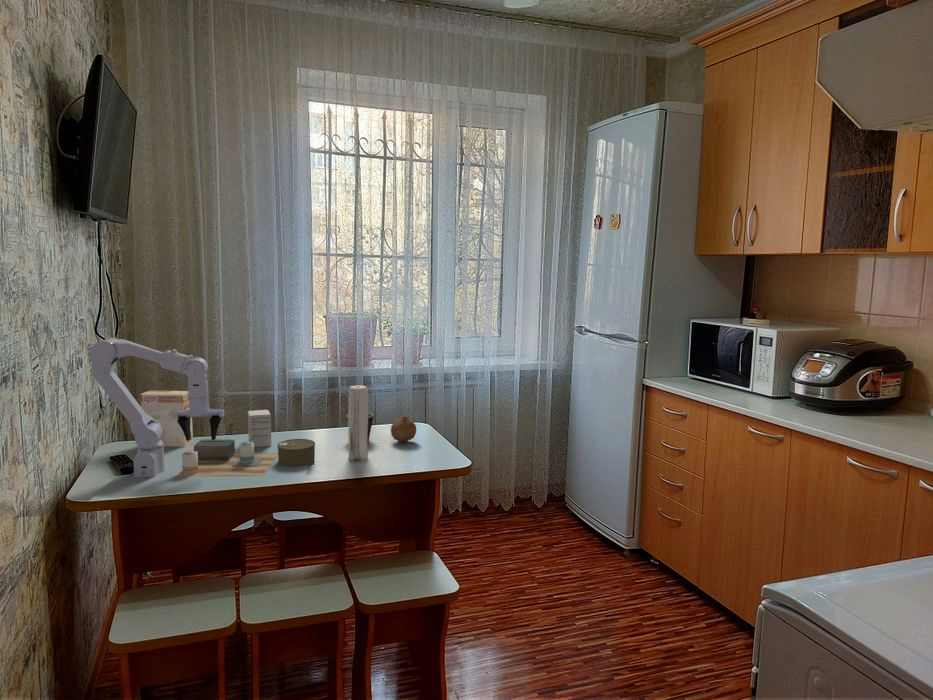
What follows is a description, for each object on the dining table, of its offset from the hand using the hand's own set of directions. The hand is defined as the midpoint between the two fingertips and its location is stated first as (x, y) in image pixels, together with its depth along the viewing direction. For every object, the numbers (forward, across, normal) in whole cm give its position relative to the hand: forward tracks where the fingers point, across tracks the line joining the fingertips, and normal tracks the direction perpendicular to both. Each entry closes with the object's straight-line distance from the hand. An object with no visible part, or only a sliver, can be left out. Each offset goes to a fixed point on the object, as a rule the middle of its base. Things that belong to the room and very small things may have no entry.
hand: (201, 439), depth 200 cm
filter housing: (+10, 0, -11) cm, 15 cm away
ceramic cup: (+12, -46, -32) cm, 57 cm away
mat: (+10, -12, -6) cm, 17 cm away
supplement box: (+11, -11, -27) cm, 31 cm away
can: (+11, -28, -8) cm, 31 cm away
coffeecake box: (+10, +21, -28) cm, 36 cm away
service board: (+11, -7, -4) cm, 14 cm away
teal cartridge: (+9, -12, -6) cm, 16 cm away
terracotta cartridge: (+9, +3, +3) cm, 10 cm away
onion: (+12, -62, -32) cm, 71 cm away
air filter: (+12, -47, -13) cm, 50 cm away
